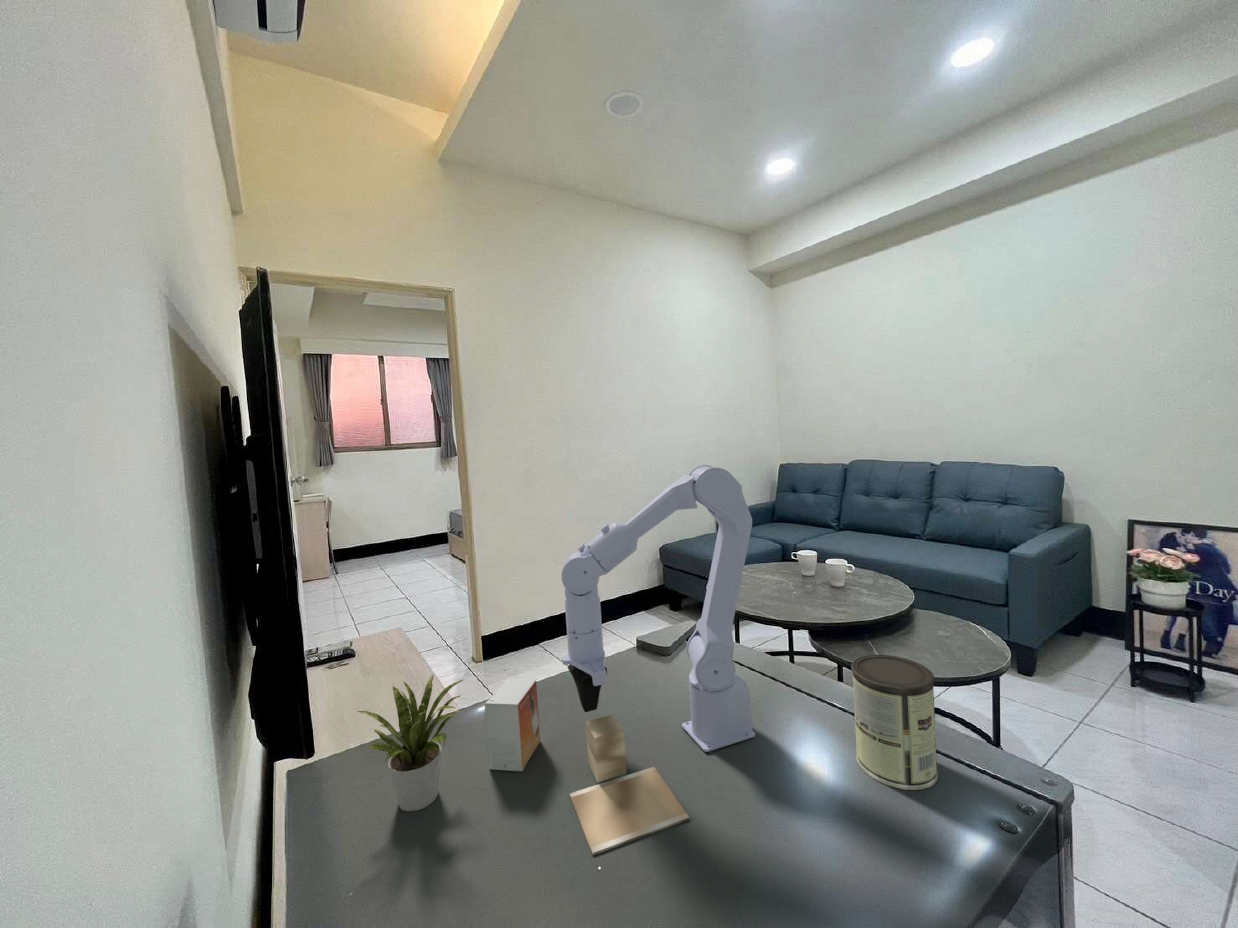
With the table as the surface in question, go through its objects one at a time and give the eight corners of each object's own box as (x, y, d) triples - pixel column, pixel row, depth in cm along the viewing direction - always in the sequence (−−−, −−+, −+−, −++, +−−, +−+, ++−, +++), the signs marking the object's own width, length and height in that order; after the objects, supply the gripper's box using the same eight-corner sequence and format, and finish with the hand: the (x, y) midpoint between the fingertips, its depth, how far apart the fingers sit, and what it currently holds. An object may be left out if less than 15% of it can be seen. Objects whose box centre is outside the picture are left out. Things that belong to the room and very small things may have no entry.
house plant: (498, 772, 74) (491, 667, 73) (436, 846, 60) (426, 718, 60) (422, 758, 78) (414, 658, 78) (349, 823, 65) (339, 704, 64)
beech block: (616, 758, 75) (613, 714, 75) (626, 776, 71) (623, 729, 71) (588, 766, 74) (585, 721, 73) (597, 785, 70) (594, 737, 69)
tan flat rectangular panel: (654, 768, 72) (654, 766, 72) (689, 819, 62) (689, 817, 62) (569, 795, 68) (569, 793, 68) (592, 855, 58) (592, 852, 58)
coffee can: (867, 735, 77) (863, 648, 76) (944, 761, 70) (941, 665, 69) (845, 769, 70) (841, 673, 69) (929, 802, 62) (925, 695, 62)
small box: (522, 773, 73) (517, 705, 73) (488, 770, 74) (483, 703, 74) (541, 740, 81) (537, 679, 81) (510, 738, 82) (505, 677, 82)
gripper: (550, 617, 84) (555, 694, 85) (571, 648, 71) (578, 739, 71) (589, 610, 87) (594, 684, 87) (617, 639, 73) (622, 727, 74)
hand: (589, 708), depth 79 cm, fingers closed
